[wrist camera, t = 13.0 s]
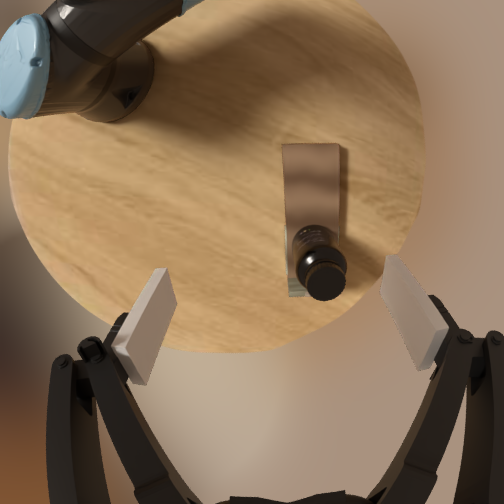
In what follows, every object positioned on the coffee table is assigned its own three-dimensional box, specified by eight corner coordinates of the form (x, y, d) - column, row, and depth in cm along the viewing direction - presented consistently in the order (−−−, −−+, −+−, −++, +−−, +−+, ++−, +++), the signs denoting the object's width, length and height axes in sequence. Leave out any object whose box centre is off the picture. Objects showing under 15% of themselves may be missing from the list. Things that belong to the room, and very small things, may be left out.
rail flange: (280, 144, 38) (282, 147, 32) (337, 143, 37) (348, 146, 32) (286, 277, 48) (287, 298, 42) (334, 274, 47) (341, 294, 41)
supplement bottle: (341, 251, 43) (361, 294, 32) (303, 270, 44) (312, 317, 34) (323, 214, 40) (341, 249, 29) (282, 235, 42) (286, 276, 31)
